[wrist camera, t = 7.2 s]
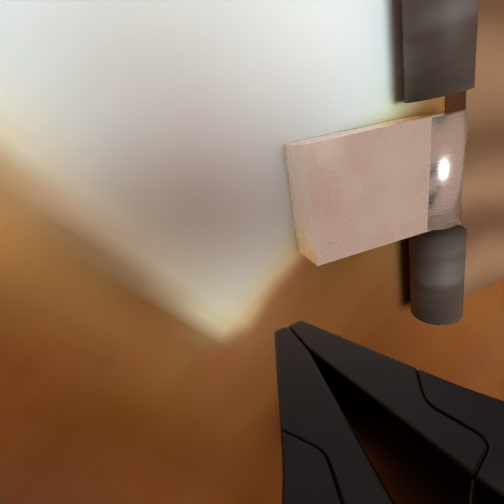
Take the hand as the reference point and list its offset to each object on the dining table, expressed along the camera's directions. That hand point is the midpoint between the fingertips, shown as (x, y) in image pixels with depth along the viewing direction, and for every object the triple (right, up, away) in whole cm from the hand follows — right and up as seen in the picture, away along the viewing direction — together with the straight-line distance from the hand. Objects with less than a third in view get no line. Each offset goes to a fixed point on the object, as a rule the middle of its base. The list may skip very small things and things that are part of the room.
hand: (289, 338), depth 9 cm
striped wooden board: (+15, +10, +14) cm, 23 cm away
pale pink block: (+7, +7, +13) cm, 16 cm away
